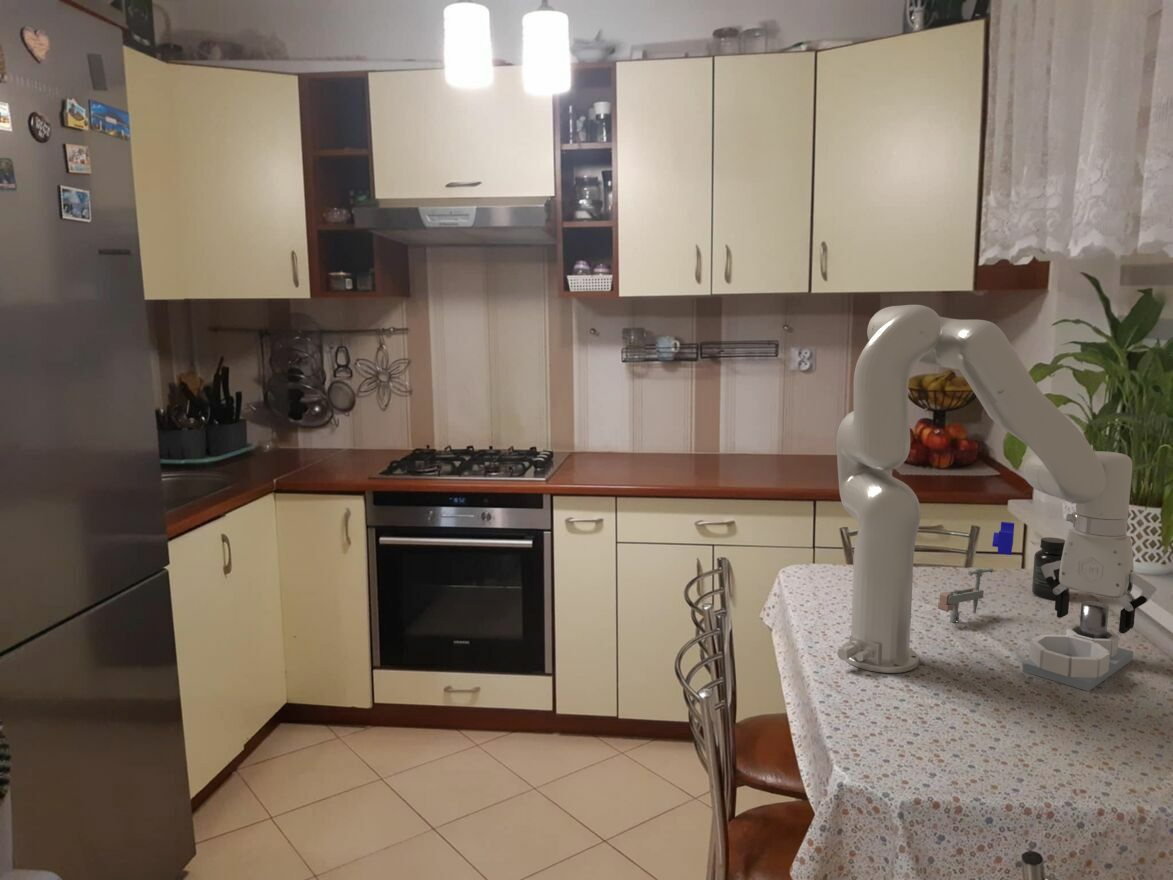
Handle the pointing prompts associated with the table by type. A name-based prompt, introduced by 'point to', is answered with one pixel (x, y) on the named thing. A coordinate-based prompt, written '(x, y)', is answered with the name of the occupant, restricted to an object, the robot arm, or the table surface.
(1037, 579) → the supplement bottle
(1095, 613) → the grey cylinder
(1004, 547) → the blue block
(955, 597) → the clamp
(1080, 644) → the fitting plate
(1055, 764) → the table surface
